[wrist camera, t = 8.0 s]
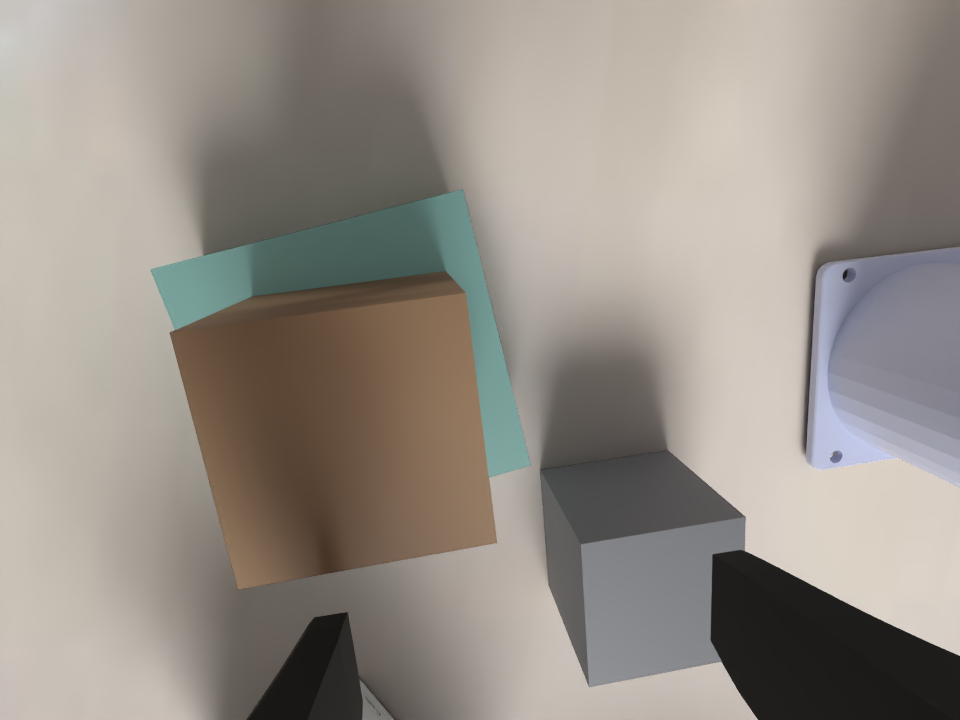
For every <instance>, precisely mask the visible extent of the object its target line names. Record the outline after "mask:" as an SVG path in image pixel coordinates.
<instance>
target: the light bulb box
mask: <svg viewBox="0 0 960 720" xmlns="http://www.w3.org/2000/svg"><path fill="white" fill-rule="evenodd" d="M359 681H360V687H361V693H362V698H363V715H362V720H394V719H393V718H392V716H391V715H390V714H389V713H388V712H387V711H386V709H385V708H384V707H383V706H382V705H381V704H380V702H379V701H378V700H377V699H376V698H375V697H374V695H373V694H372V693H371V692H370V691H369V689H368V688H367V687H366V686H365V685H364V684H363V682H362V681H361V680H360V679H359Z"/></svg>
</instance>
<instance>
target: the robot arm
mask: <svg viewBox="0 0 960 720" xmlns="http://www.w3.org/2000/svg"><path fill="white" fill-rule="evenodd" d="M846 269H847V277H846V278H845V279H844V280H843V277H842V275H843V272H844V271H845V270H846ZM834 451H835V453H834V455H833V456H832V457H831V458H830V456H831V454H832V453H833V452H834ZM894 458H898V459H900V460H903V461H905V462H907V463H909V464H911V465H913V466H915V467H917V468H919V469H922V470H924V471H926V472H928V473H930V474H932V475H934V476H936V477H939V478H941V479H943V480H945V481H947V482H949V483H951V484H953V485H955V486H958V487H960V247H951V248H943V249H934V250H926V251H917V252H909V253H900V254H892V255H883V256H875V257H866V258H858V259H849V260H841V261H832V262H828V263H825V264H823V265H822V266H821V267H820V268H819V270H818V272H817V275H816V287H815V305H814V322H813V340H812V358H811V376H810V393H809V411H808V429H807V446H806V461H807V463H808V464H809V465H810V466H812V467H814V468H816V469H818V470H826V469H832V468H838V467H844V466H851V465H857V464H863V463H869V462H876V461H882V460H888V459H894ZM710 640H711V642H712V644H713V646H714V648H715V650H716V652H717V654H718V655H719V657H720V659H721V661H722V663H723V665H724V667H725V669H726V670H727V672H728V674H729V676H730V677H731V679H732V681H733V683H734V684H735V686H736V688H737V690H738V691H739V693H740V694H741V696H742V697H743V699H744V700H745V702H746V703H747V705H748V706H749V707H750V709H751V710H752V712H753V713H754V715H755V716H756V717H757V719H758V720H960V656H959V655H956V654H954V653H952V652H949V651H947V650H945V649H942V648H940V647H938V646H935V645H933V644H931V643H929V642H927V641H924V640H922V639H920V638H918V637H916V636H914V635H911V634H909V633H907V632H905V631H903V630H901V629H898V628H896V627H894V626H892V625H890V624H888V623H886V622H884V621H882V620H879V619H877V618H875V617H873V616H871V615H869V614H867V613H865V612H863V611H861V610H859V609H857V608H855V607H853V606H851V605H849V604H847V603H845V602H843V601H841V600H839V599H837V598H835V597H834V596H832V595H830V594H828V593H826V592H824V591H822V590H820V589H818V588H816V587H814V586H812V585H810V584H809V583H807V582H805V581H803V580H801V579H799V578H797V577H795V576H793V575H791V574H789V573H788V572H786V571H784V570H782V569H780V568H778V567H776V566H774V565H772V564H770V563H768V562H766V561H764V560H762V559H760V558H758V557H756V556H754V555H752V554H750V553H748V552H745V551H743V550H736V551H730V552H723V553H717V554H712V595H711V638H710ZM362 715H363V698H362V693H361V687H360V681H359V675H358V669H357V664H356V658H355V652H354V646H353V641H352V635H351V629H350V623H349V617H348V612H345V613H339V614H333V615H326V616H320V617H314V619H313V620H312V621H311V622H310V623H309V625H308V626H307V628H306V630H305V631H304V633H303V635H302V636H301V638H300V639H299V641H298V643H297V644H296V646H295V648H294V649H293V651H292V652H291V654H290V655H289V657H288V659H287V660H286V662H285V663H284V665H283V666H282V668H281V670H280V671H279V673H278V674H277V676H276V677H275V679H274V680H273V682H272V683H271V685H270V686H269V688H268V689H267V691H266V692H265V694H264V695H263V696H262V698H261V699H260V701H259V702H258V704H257V705H256V707H255V708H254V710H253V711H252V713H251V714H250V715H249V717H248V718H247V720H362Z"/></svg>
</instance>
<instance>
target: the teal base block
mask: <svg viewBox="0 0 960 720" xmlns="http://www.w3.org/2000/svg"><path fill="white" fill-rule="evenodd" d="M150 270H151V272H152V275H153V277H154V280H155V282H156V285H157V287H158V289H159V292H160V294H161V297H162V299H163V302H164V304H165V306H166V309H167V311H168V314H169V316H170V319H171V321H172V324H173V326H174V328H175V330H177V329H179V328H181V327H184V326H186V325H188V324H190V323H193V322H195V321H197V320H200V319H202V318H204V317H206V316H209V315H211V314H213V313H215V312H218V311H220V310H222V309H225V308H227V307H229V306H231V305H234V304H236V303H238V302H240V301H243V300H245V299H247V298H250V297H252V296H259V295H267V294H274V293H282V292H290V291H297V290H305V289H313V288H321V287H328V286H336V285H344V284H351V283H359V282H367V281H374V280H382V279H390V278H397V277H405V276H413V275H421V274H428V273H436V272H444V271H446V272H447V273H448V274H449V275H450V276H451V277H452V278H453V279H454V280H455V281H456V283H457V284H458V285H459V286H460V287H461V288H462V289H463V290H464V291H465V292H466V298H467V306H468V314H469V322H470V330H471V338H472V346H473V354H474V362H475V370H476V378H477V386H478V394H479V402H480V410H481V419H482V427H483V435H484V443H485V451H486V459H487V467H488V475H489V477H492V476H496V475H499V474H502V473H506V472H509V471H513V470H516V469H519V468H523V467H526V466H530V465H531V464H530V460H529V456H528V452H527V448H526V444H525V440H524V435H523V431H522V427H521V423H520V419H519V415H518V411H517V407H516V403H515V399H514V395H513V391H512V387H511V383H510V379H509V375H508V371H507V367H506V362H505V358H504V354H503V350H502V346H501V342H500V338H499V334H498V330H497V326H496V322H495V318H494V314H493V310H492V306H491V302H490V298H489V294H488V289H487V285H486V281H485V277H484V273H483V269H482V265H481V261H480V257H479V253H478V249H477V245H476V241H475V237H474V233H473V229H472V225H471V221H470V217H469V212H468V208H467V204H466V200H465V196H464V192H463V189H462V190H458V191H454V192H450V193H447V194H443V195H439V196H435V197H431V198H427V199H423V200H419V201H415V202H411V203H408V204H404V205H400V206H396V207H392V208H388V209H384V210H380V211H376V212H372V213H369V214H365V215H361V216H357V217H353V218H349V219H345V220H341V221H337V222H333V223H330V224H326V225H322V226H318V227H314V228H310V229H306V230H302V231H298V232H294V233H291V234H287V235H283V236H279V237H275V238H271V239H267V240H263V241H259V242H255V243H252V244H248V245H244V246H240V247H236V248H232V249H228V250H224V251H220V252H216V253H213V254H209V255H205V256H201V257H197V258H193V259H189V260H185V261H181V262H177V263H174V264H170V265H166V266H162V267H158V268H154V269H150Z"/></svg>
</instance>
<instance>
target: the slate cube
mask: <svg viewBox="0 0 960 720" xmlns="http://www.w3.org/2000/svg"><path fill="white" fill-rule="evenodd" d="M540 476H541V489H542V502H543V515H544V528H545V541H546V554H547V567H548V580H549V587H550V589H551V592H552V595H553V597H554V600H555V602H556V605H557V607H558V610H559V612H560V615H561V617H562V620H563V622H564V625H565V627H566V630H567V632H568V635H569V638H570V640H571V643H572V645H573V648H574V650H575V653H576V655H577V658H578V660H579V663H580V665H581V668H582V670H583V673H584V675H585V678H586V680H587V683H588V686H589V687H593V686H598V685H603V684H608V683H613V682H619V681H624V680H629V679H634V678H639V677H644V676H650V675H655V674H660V673H665V672H670V671H675V670H680V669H686V668H691V667H696V666H701V665H706V664H711V663H717V662H722V661H721V659H720V657H719V655H718V654H717V652H716V650H715V648H714V646H713V644H712V642H711V640H710V638H711V595H712V554H717V553H723V552H730V551H736V550H743V551H745V520H746V517H745V516H744V515H743V514H742V513H740V512H739V511H738V510H737V509H736V508H735V507H733V506H732V505H731V504H730V503H729V502H728V501H726V500H725V499H724V498H723V497H722V496H721V495H719V494H718V493H717V492H716V491H715V490H714V489H712V488H711V487H710V486H709V485H708V484H707V483H705V482H704V481H703V480H702V479H701V478H700V477H698V476H697V475H696V474H695V473H694V472H693V471H691V470H690V469H689V468H688V467H687V466H686V465H684V464H683V463H682V462H681V461H680V460H679V459H677V458H676V457H675V456H674V455H673V454H672V453H670V452H669V451H661V452H655V453H648V454H642V455H635V456H628V457H622V458H615V459H608V460H602V461H595V462H588V463H582V464H575V465H568V466H562V467H555V468H549V469H542V470H540Z"/></svg>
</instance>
